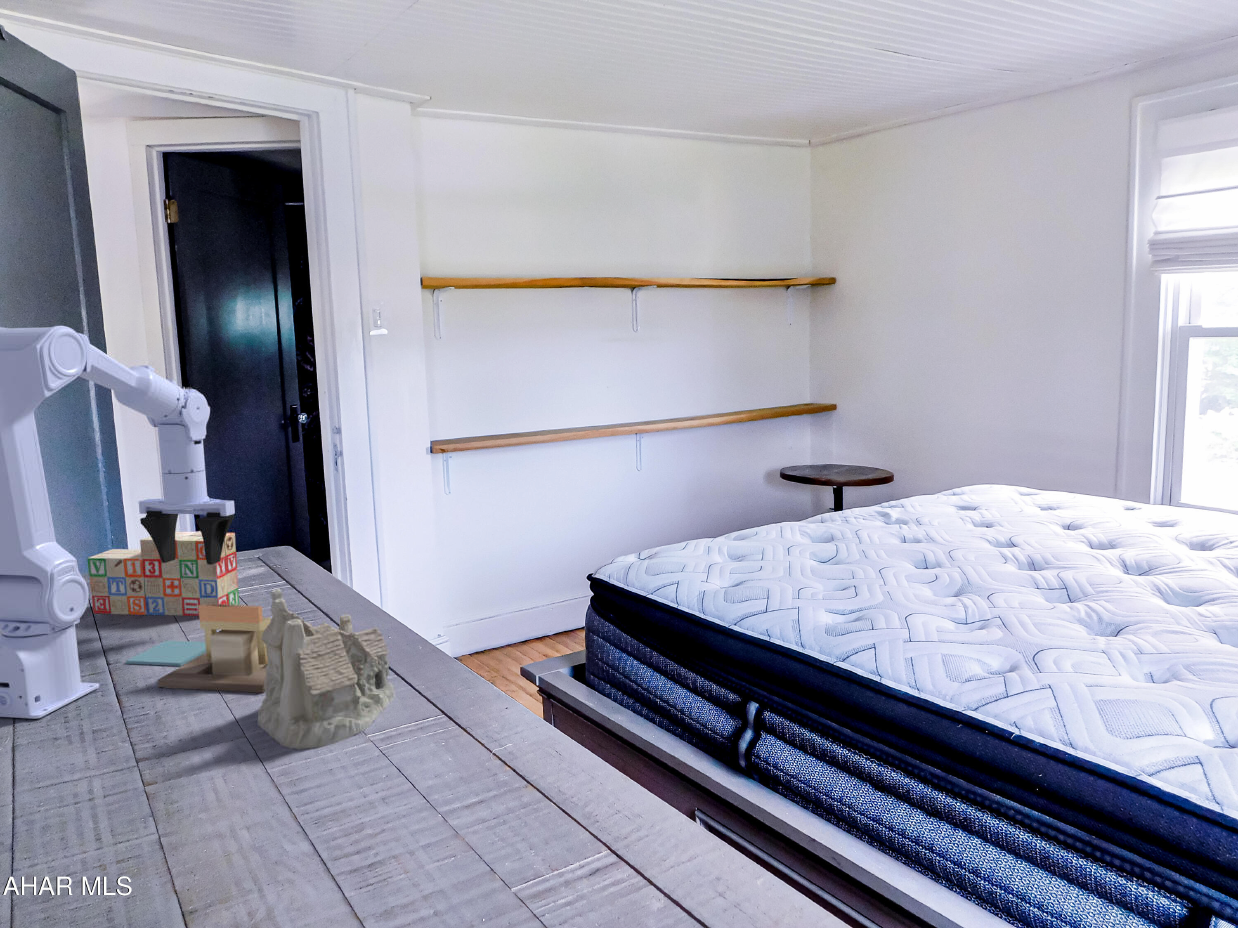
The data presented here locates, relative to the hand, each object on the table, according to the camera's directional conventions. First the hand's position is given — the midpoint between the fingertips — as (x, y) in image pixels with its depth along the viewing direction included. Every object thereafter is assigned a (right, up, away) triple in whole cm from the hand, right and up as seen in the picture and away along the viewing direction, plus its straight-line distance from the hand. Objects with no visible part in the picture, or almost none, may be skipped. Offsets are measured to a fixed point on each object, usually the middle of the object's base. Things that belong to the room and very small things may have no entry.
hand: (191, 562), depth 128 cm
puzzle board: (+15, -12, -14) cm, 24 cm away
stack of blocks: (-9, -9, +11) cm, 17 cm away
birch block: (+15, -12, -17) cm, 26 cm away
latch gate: (+15, -11, -17) cm, 25 cm away
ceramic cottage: (+31, -14, -30) cm, 45 cm away
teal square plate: (+3, -11, -10) cm, 15 cm away
